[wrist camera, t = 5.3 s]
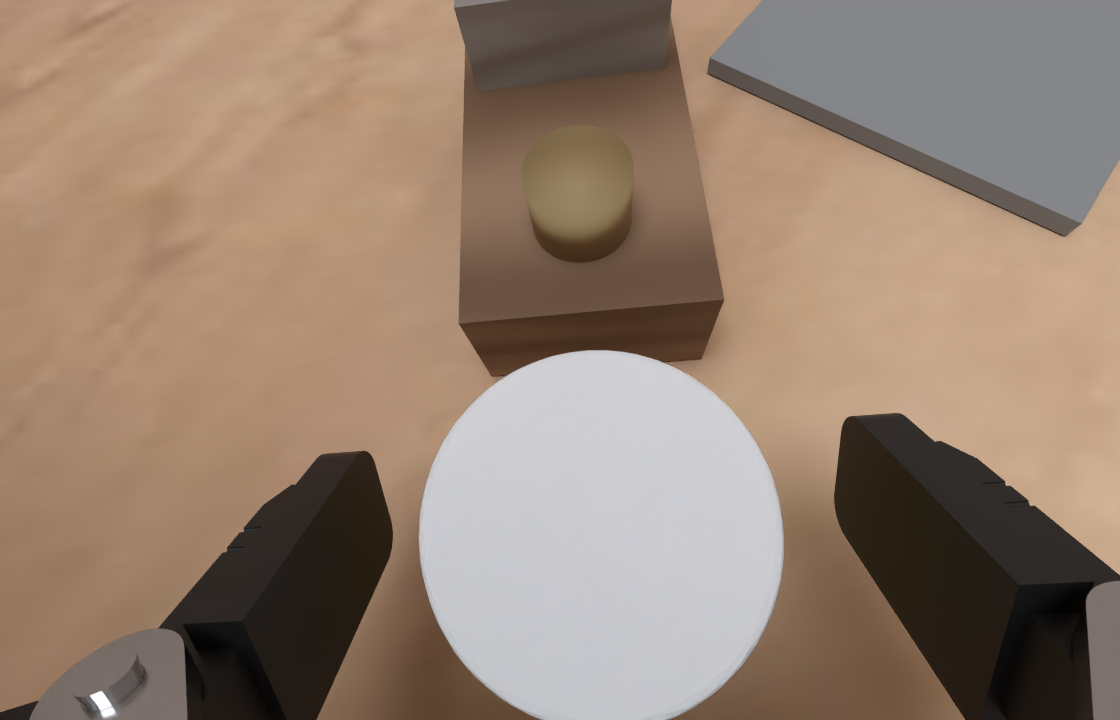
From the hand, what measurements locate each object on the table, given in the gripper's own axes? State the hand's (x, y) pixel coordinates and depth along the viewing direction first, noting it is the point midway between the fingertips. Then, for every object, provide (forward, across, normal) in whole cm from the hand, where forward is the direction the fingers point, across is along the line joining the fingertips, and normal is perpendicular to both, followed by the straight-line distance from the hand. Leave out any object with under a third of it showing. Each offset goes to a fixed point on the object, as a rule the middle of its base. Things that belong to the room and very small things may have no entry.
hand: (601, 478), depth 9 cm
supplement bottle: (+3, 0, +4) cm, 5 cm away
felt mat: (+14, -13, -7) cm, 21 cm away
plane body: (+11, 0, -4) cm, 12 cm away
